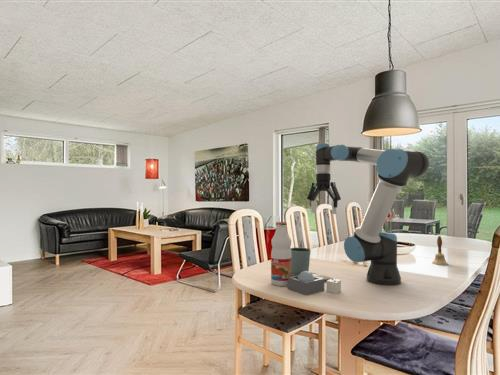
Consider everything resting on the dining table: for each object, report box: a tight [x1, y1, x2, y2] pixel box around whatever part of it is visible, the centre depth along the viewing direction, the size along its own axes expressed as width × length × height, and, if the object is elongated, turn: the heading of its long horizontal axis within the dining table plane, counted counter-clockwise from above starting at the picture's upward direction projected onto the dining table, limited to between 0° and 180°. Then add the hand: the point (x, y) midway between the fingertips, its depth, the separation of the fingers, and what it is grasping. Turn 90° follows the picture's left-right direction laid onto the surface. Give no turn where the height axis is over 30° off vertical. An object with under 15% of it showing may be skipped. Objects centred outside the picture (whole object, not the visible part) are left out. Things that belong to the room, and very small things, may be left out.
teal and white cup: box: [290, 247, 311, 275], centre depth 172 cm, size 10×10×12 cm
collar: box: [287, 275, 325, 296], centre depth 149 cm, size 11×11×5 cm
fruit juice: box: [270, 221, 292, 287], centre depth 158 cm, size 9×9×28 cm
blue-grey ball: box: [298, 270, 314, 282], centre depth 149 cm, size 7×7×7 cm
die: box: [326, 278, 342, 294], centre depth 147 cm, size 4×4×5 cm
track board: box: [292, 271, 334, 283], centre depth 170 cm, size 24×13×1 cm, turn 37°
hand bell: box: [431, 235, 449, 266], centre depth 200 cm, size 8×8×16 cm
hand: (323, 213), depth 182 cm, fingers open, 13 cm apart
